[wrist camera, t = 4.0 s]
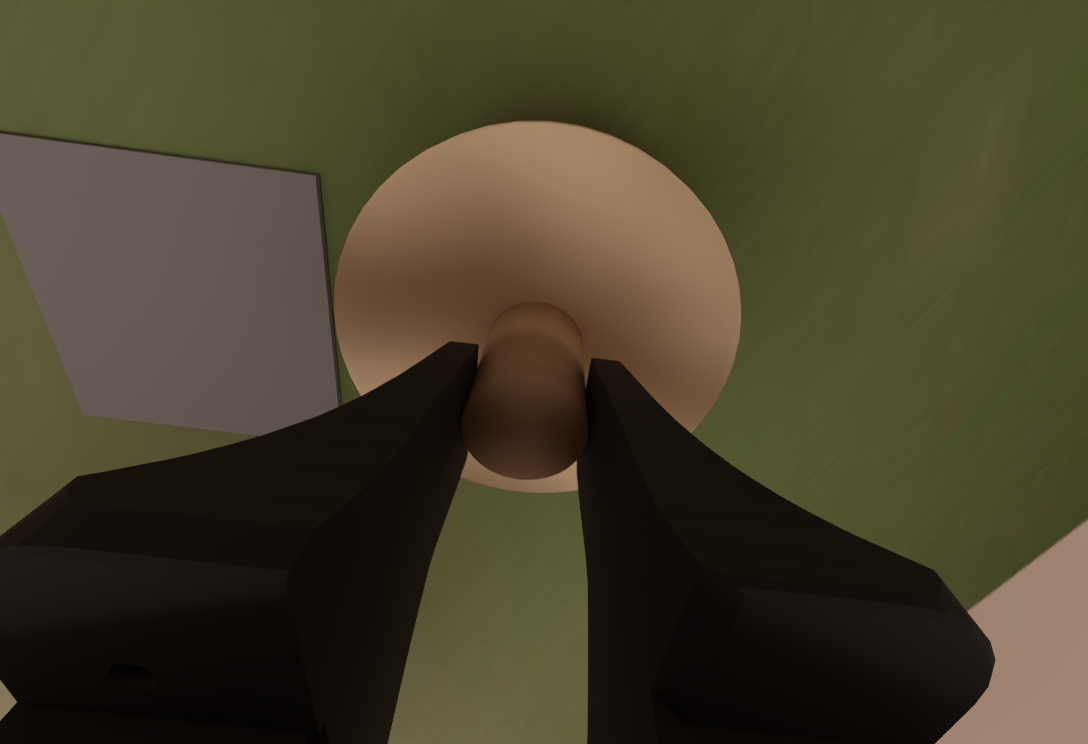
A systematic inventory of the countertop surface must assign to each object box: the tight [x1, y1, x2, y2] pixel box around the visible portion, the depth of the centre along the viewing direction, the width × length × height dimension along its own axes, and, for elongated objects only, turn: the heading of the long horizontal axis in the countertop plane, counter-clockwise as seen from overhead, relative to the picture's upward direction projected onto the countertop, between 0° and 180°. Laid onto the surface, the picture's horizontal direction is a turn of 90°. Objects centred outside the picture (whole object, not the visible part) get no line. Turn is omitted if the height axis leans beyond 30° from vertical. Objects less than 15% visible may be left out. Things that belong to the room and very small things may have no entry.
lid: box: [334, 121, 741, 493], centre depth 11 cm, size 10×10×4 cm
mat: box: [0, 132, 341, 436], centre depth 20 cm, size 12×12×1 cm
